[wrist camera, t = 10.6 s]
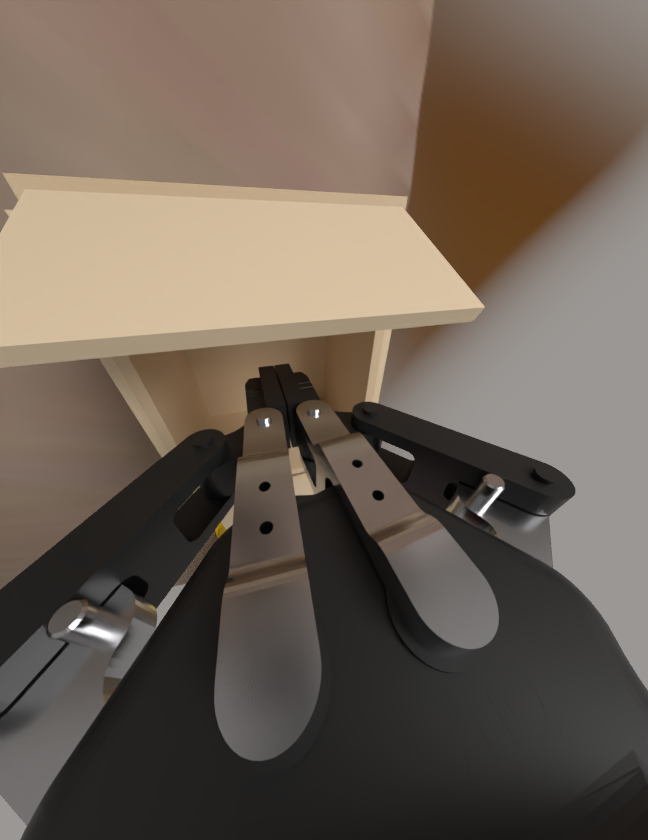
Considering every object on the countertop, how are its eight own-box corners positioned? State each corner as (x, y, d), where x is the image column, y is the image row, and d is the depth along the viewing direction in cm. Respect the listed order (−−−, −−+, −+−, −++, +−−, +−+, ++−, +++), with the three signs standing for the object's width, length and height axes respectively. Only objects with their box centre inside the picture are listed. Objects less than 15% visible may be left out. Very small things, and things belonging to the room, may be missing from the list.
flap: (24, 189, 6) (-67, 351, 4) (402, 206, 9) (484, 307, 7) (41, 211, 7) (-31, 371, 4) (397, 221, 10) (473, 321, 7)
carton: (109, 204, 14) (-25, 171, 7) (340, 212, 17) (419, 197, 10) (200, 420, 24) (187, 500, 17) (332, 398, 28) (369, 456, 21)
